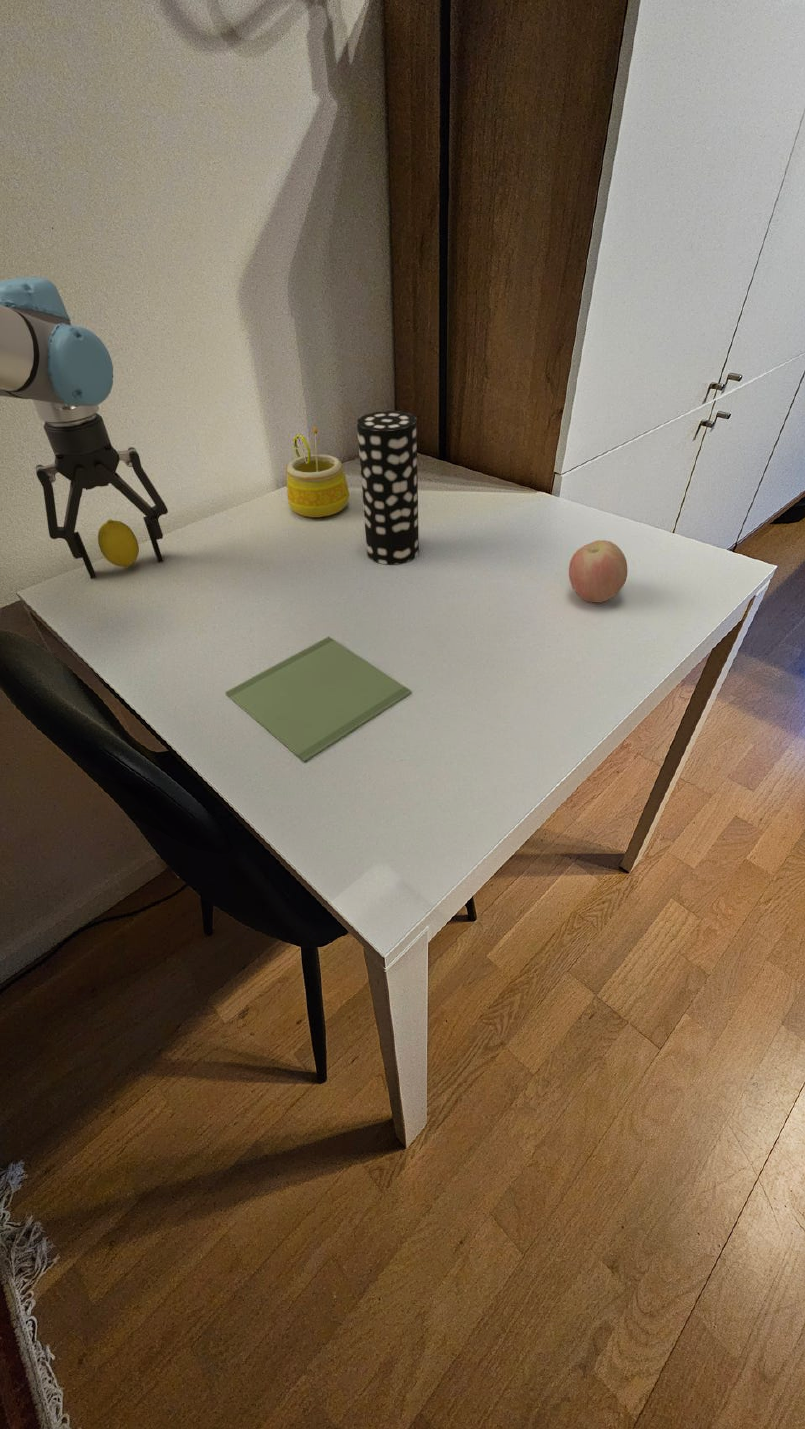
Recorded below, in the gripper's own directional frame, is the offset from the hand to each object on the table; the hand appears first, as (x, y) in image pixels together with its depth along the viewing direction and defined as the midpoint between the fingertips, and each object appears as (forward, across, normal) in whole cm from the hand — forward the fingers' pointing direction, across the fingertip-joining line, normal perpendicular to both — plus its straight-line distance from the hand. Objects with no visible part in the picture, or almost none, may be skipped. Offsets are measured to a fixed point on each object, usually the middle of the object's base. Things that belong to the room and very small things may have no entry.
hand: (126, 566), depth 100 cm
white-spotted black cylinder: (0, +39, -16) cm, 42 cm away
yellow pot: (0, +35, +6) cm, 35 cm away
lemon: (0, 0, 0) cm, 0 cm away
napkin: (0, +16, -44) cm, 46 cm away
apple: (0, +58, -42) cm, 72 cm away
